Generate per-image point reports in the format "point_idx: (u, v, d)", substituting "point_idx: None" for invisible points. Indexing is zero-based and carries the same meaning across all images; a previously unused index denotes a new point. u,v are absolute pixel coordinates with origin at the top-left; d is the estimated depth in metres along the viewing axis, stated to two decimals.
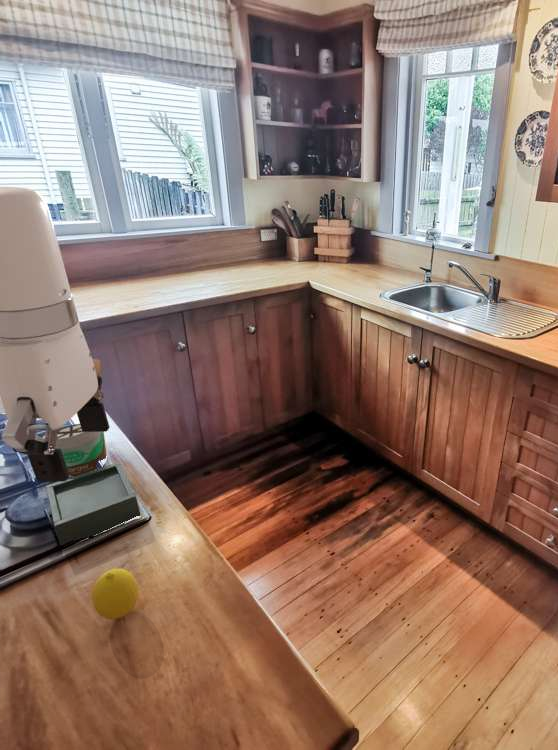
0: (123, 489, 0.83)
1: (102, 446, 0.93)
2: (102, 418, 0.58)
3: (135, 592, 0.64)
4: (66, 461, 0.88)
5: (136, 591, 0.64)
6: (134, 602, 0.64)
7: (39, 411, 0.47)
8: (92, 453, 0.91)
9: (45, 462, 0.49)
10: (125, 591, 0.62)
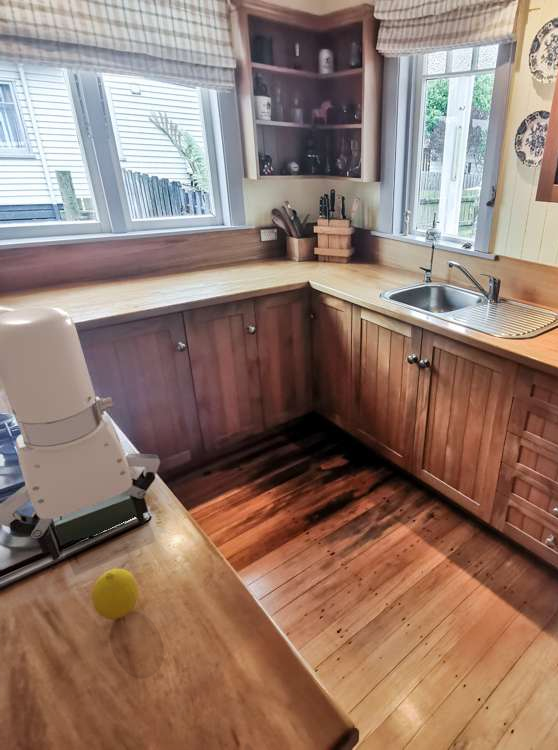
0: None
1: None
2: (137, 513, 0.60)
3: (135, 592, 0.64)
4: None
5: (136, 591, 0.64)
6: (134, 602, 0.64)
7: (31, 501, 0.52)
8: None
9: None
10: (125, 591, 0.62)
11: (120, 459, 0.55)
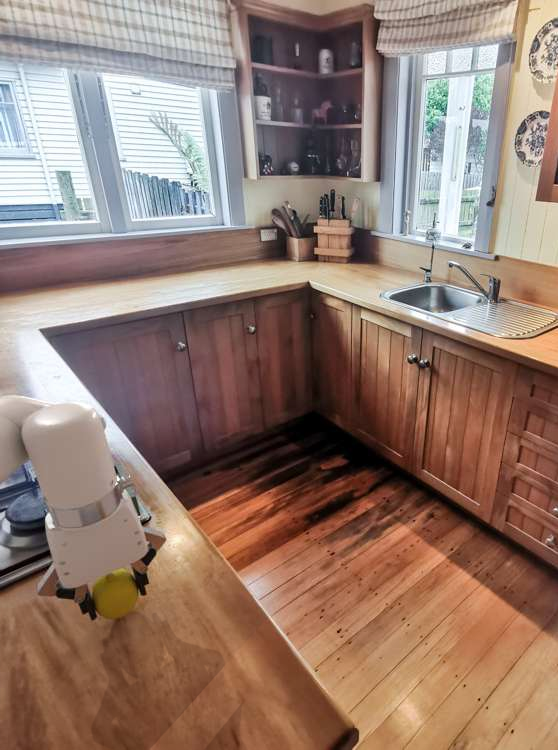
0: None
1: None
2: (139, 586, 0.64)
3: (135, 592, 0.64)
4: None
5: (136, 591, 0.64)
6: (134, 602, 0.64)
7: (57, 573, 0.57)
8: None
9: (78, 603, 0.61)
10: (125, 591, 0.62)
11: (137, 531, 0.60)
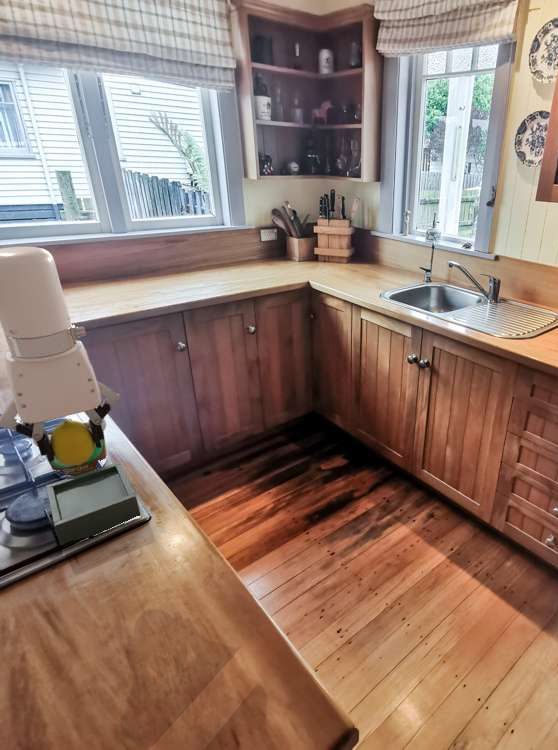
0: (123, 489, 0.83)
1: (102, 446, 0.93)
2: (94, 437, 0.71)
3: (90, 442, 0.71)
4: None
5: (91, 442, 0.71)
6: (89, 451, 0.71)
7: (15, 406, 0.64)
8: (92, 453, 0.91)
9: (37, 443, 0.67)
10: (80, 438, 0.69)
11: (90, 379, 0.67)
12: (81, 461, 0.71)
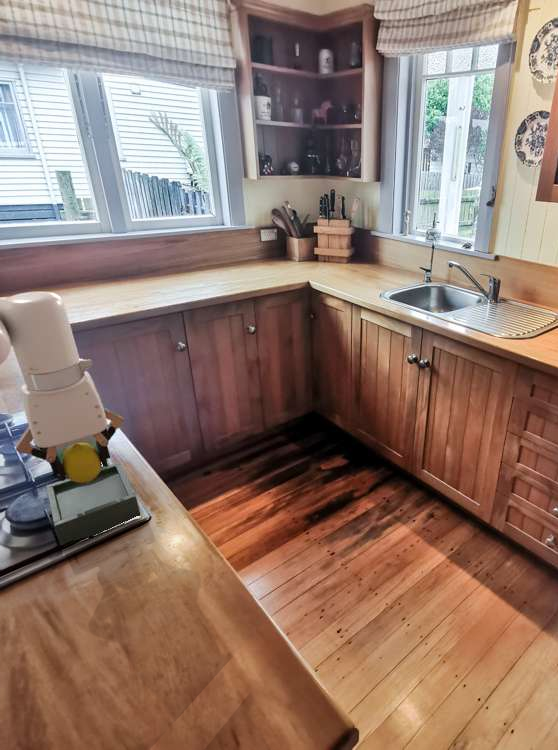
0: (123, 489, 0.83)
1: None
2: (101, 457, 0.78)
3: (98, 462, 0.78)
4: None
5: (99, 461, 0.78)
6: (97, 470, 0.78)
7: (31, 433, 0.71)
8: None
9: (50, 464, 0.75)
10: (89, 458, 0.77)
11: (97, 405, 0.74)
12: (90, 479, 0.78)
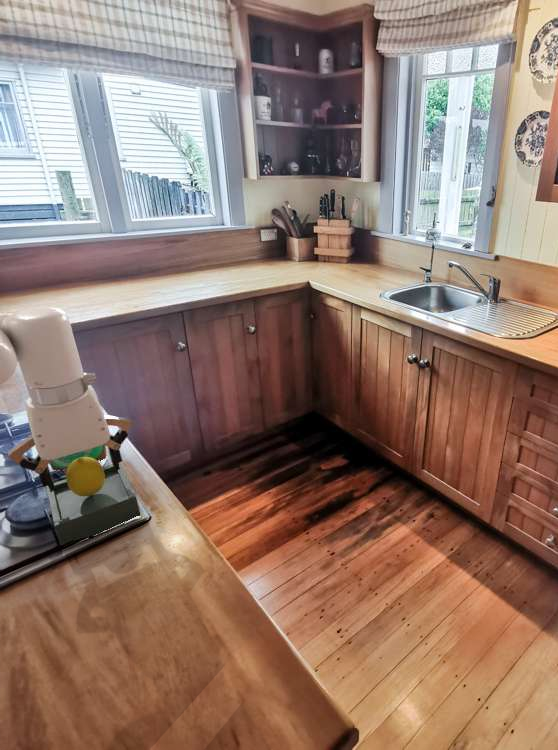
0: (123, 489, 0.83)
1: (102, 446, 0.93)
2: (113, 461, 0.80)
3: (101, 476, 0.79)
4: (66, 461, 0.88)
5: (102, 475, 0.80)
6: (100, 483, 0.80)
7: (35, 446, 0.72)
8: (92, 453, 0.91)
9: (39, 475, 0.74)
10: (93, 472, 0.78)
11: (101, 418, 0.75)
12: (93, 493, 0.79)
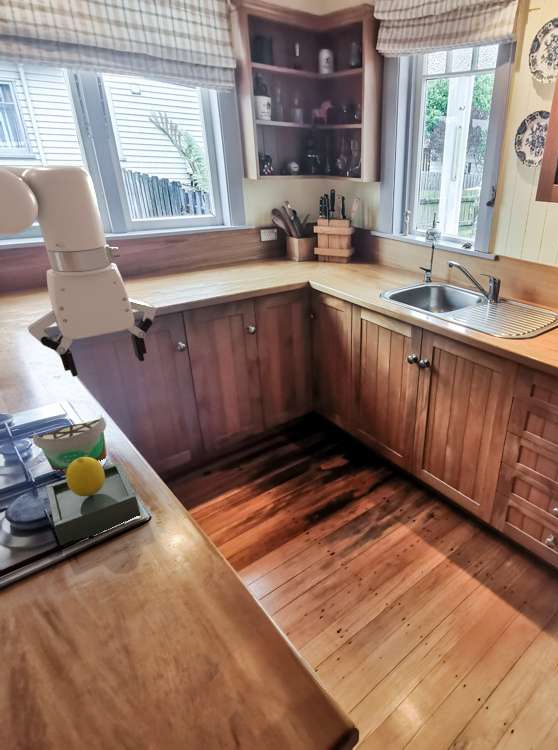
0: (123, 489, 0.83)
1: (102, 446, 0.93)
2: (137, 350, 0.76)
3: (101, 476, 0.79)
4: (66, 461, 0.88)
5: (102, 475, 0.80)
6: (100, 483, 0.80)
7: (57, 321, 0.67)
8: (92, 453, 0.91)
9: (61, 357, 0.70)
10: (93, 472, 0.78)
11: (125, 298, 0.71)
12: (93, 493, 0.79)
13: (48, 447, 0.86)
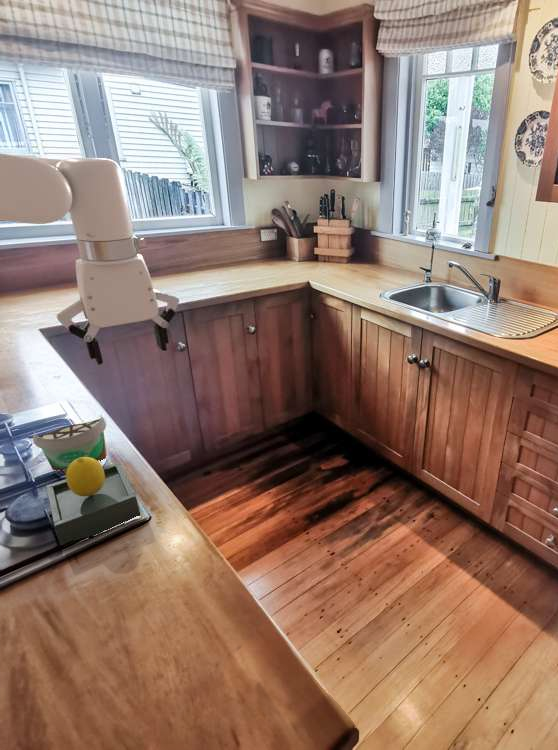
0: (123, 489, 0.83)
1: (102, 446, 0.93)
2: (160, 340, 0.77)
3: (101, 476, 0.79)
4: (66, 461, 0.88)
5: (102, 475, 0.80)
6: (100, 483, 0.80)
7: (85, 310, 0.69)
8: (92, 453, 0.91)
9: (87, 345, 0.72)
10: (93, 472, 0.78)
11: (150, 288, 0.73)
12: (93, 493, 0.79)
13: (48, 447, 0.86)
